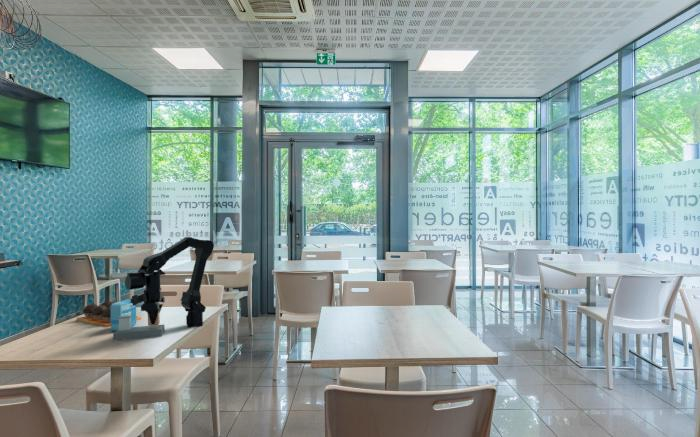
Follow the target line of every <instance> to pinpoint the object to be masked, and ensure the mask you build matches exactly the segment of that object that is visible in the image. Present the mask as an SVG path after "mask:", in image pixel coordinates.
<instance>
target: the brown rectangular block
mask: <svg viewBox="0 0 700 437" xmlns="http://www.w3.org/2000/svg"><path fill="white" fill-rule="evenodd" d="M159 312H160V313H161V311H160V310H159ZM146 313H147V312H146ZM160 313H158V316H157V319H156V321H155V324H151V321H150V317H149V314H148V313H147V326H149V329H151V328H159V325H160V324H161V323H160V318H161V317H160Z"/></svg>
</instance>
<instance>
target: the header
mask: <svg viewBox="0 0 700 437" xmlns="http://www.w3.org/2000/svg"><path fill="white" fill-rule="evenodd" d="M164 334H165V324H159V328H151V329H149V326H148V325H144V326H143V325H141V326H132V327H131V329H130V330H127V331H119V328H118V329H117V330H116V331H113V333H112V338H113V341H120V340H121V341H123V340H134V339H145V338H146V339H147V338H157V337H162V336H163V335H164Z"/></svg>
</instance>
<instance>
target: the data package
mask: <svg viewBox="0 0 700 437" xmlns="http://www.w3.org/2000/svg"><path fill="white" fill-rule="evenodd" d="M116 302H117V303H116ZM116 302H113V304H112V305H111V326H110V330H111V331H113V332H115V331H116V330H117V329H118V328H119V319H118V317H119V316H123V315H131V327H135V326H136V324H137V320H136V316H137V304H136V305H134V306H133V304H132V303H131V300H130V299H123V300H120V301H116Z"/></svg>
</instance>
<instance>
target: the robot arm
mask: <svg viewBox="0 0 700 437" xmlns="http://www.w3.org/2000/svg"><path fill="white" fill-rule="evenodd" d="M188 248H191V249H192V248H193V249H194V254H195V261H194V266H193V270H192V273H191V277H190V281H189V287H188V289H187V290H186V291H182V296H181V298H180V304H181V306H182V307H183V308H184V310H185V312H187V315H186V318H185V321H186V322H185V323H186V326H187V328H192V327H202V326H203V325H204V315H203V314H204V313H205V312H206V309H207V307H206V306H205V305H204V304H203V303H202V302H201V301H202V297H201V296H202V294H201V291H200V290H201V285H202V282H203V277H204V273H205V269H206V266H207V261H208V260H209V258H210V256H211V255H212V253H213V251H214V248H215V244H214V243H213V241H212V240H210V239H208V240H207V239H198V238H194V237H191V236H185V237H183V238H182V239H181V240H179V241H177V242H176V243H174V244H173V245H171V246H169V247H167V248H166V249H164V250H163V251H159V252H158V253H155V254H151V255H149V256H146V257H145V258H144V259H143V261H142V264H141V266H140V267H139V269H138V271H137V272H127V273H126V277H125V280H124V285H125V289H126V290H127V291H128V290H130V291H131V290H136V289H137V290H138V289H143V288H144V287H145V289H144V290H143V293H140V294H137V293H136V294H134V295H132V296H131V298H129V300H131V303H132V304H133V306H134V305H136V306H137V305H138V304H141V303H143V304H141V305H140V311H141V312H146V313H148V314H149V317H150V321H151V324H155V321H156V319H157V316H158V313H159V314H160V313H161V310H162V308H163V305H164V304H163V303H165V302H166V301H165V300H166V299H165V298H166V297H165V296H164V295H161V293H162V292H161V291H162V287H161V276H164V275H166V273H165V272H164V271H163V270H162V268H163V267H164V266H165V265H166V264H167V263H168V261H169V260H170V259H172V258H174V257H175V256H177V255H178V254H180V253H182V252H183V251H185V250H186V249H188ZM160 303H161V304H160ZM159 310H160V312H159ZM148 314H147V315H148Z"/></svg>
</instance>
